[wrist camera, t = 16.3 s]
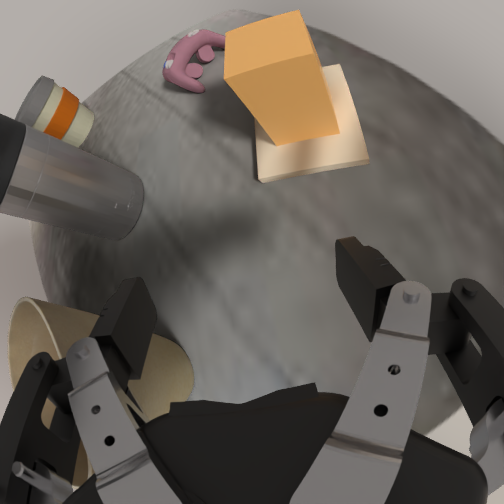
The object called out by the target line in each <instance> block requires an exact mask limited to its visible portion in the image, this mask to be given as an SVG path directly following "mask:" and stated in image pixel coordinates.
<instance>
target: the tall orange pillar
mask: <svg viewBox="0 0 504 504" xmlns="http://www.w3.org/2000/svg"><path fill="white" fill-rule="evenodd" d="M224 80H225V81H226V82H227V84H228V85H229V86H230V87H231V88H232V90H233V91H234V92H235V93H236V94H237V96H238V97H239V98H240V99H241V100H242V102H243V103H244V104H245V105H246V107H247V108H248V109H249V111H250V112H251V113H252V114H253V116H254V117H255V118H256V119H257V121H258V122H259V123H260V125H261V126H262V127H263V129H264V130H265V131H266V133H267V134H268V135H269V137H270V138H271V139H272V141H273V142H274V143H275V145H276V146H280V145H284V144H289V143H293V142H298V141H303V140H308V139H313V138H318V137H324V136H330V135H335V134H340V131H339V126H338V122H337V118H336V114H335V110H334V106H333V102H332V98H331V94H330V91H329V87H328V84H327V81H326V78H325V75H324V72H323V69H322V66H321V63H320V61H319V58H318V55H317V53H316V50H315V47H314V45H313V42H312V40H311V37H310V35H309V32H308V30H307V27H306V25H305V23H304V20H303V18H302V16H301V14H300V11H299V10H296V11H292V12H288V13H284V14H280V15H277V16H273V17H270V18H266V19H263V20H260V21H257V22H254V23H251V24H248V25H245V26H242V27H239V28H237V29H234V30H231V31H229V32H226V37H225V63H224Z"/></svg>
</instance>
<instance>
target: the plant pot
mask: <svg viewBox="0 0 504 504" xmlns="http://www.w3.org/2000/svg"><path fill="white" fill-rule="evenodd" d="M99 317H100V316H99V315H96V314H92V313H89V312H85V311H81V310H78V309H74V308H69V307H65V306H61V305H57V304H53V303H49V302H45V301H41V300H37V299H33V298H29V297H23V298H21V299H20V300H19V301H18V302H17V303H16V305H15V307H14V309H13V311H12V314H11V319H10V323H9V329H8V343H7V347H8V364H9V372H10V378H11V383H12V388H13V392H14V390H15V387H16V385H17V383H18V381H19V379H20V377H21V375H22V373H23V370H24V368H25V366H26V364H27V363H28V361H29V360H30V359H31V358H32V357H33V356H34V355H36V354H37V353H39V352H47V353H49V354H50V356H51V357H52V358H53V360H54V361H56V360H59V359H62V358H65V357H66V354H67V351H68V349H69V348H70V347H71V346H72V345H73V344H74V343H75V342H76V341H78V340H80V339H82V338H86V337H89V335H90V333H91V331H92V329H93V327H94V325H95V323H96V321H97V320H98V318H99ZM193 385H194V372H193V368H192V365H191V362H190V360H189V358H188V356H187V355H186V353H185V352H184V350H183V349H182V348H181V347H180V346H179V345H177V344H176V343H174V342H173V341H171V340H168V339H166V338H164V337H162V336H159V335H156V334H154V333H153V334H152V338H151V341H150V345H149V348H148V352H147V356H146V359H145V363H144V367H143V371H142V375H141V379H140V380H129V381H128V386H129V387H130V389H131V390H132V392H133V394H134V395H135V397H136V399H137V400H138V402H139V404H140V405H141V407H142V409H143V410H144V412H145V413H146V415H147V417H148V418H149V420H150V421H151V420H152V419H154V418H156V417H158V416H160V415H163V414H166V413H169V410H170V402H184V401H186V400H187V398H188V397H189V395H190V393H191V391H192V389H193ZM55 409H56V406H55V405H54V404H53V403H52V402H51V401H50V400H49V399H48V398H47V399H46V402H45V405H44V407H43V410H42V413H41V419H42V422H43V424H44V425H45V426H46V427H47V428H48V429H49V428H50V424H51V421H52V418H53V415H54V412H55ZM94 473H95V472H94V469H93V467H92V465H91V462H90V460H89V458H88V455H87V453H86V450H85V447H84V445H83V442H82V439H81V440H80V445H79V450H78V455H77V460H76V465H75V471H74V477H73V483H72V488H74V489H78V488H79V487H80V486H81V485H82V484H83V483H84V482H85V481H86V480H87V479H88V478H90V477H91V476H92V475H93V474H94Z"/></svg>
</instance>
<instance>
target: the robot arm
mask: <svg viewBox="0 0 504 504" xmlns="http://www.w3.org/2000/svg"><path fill="white" fill-rule="evenodd" d="M143 198H144V190H143V185H142V182H141V180H140V178H139V177H138V176H137V175H135V174H133V173H131V172H129V171H127V170H124V169H122V168H120V167H118V166H116V165H114V164H112V163H110V162H108V161H106V160H103V159H101V158H99V157H97V156H95V155H93V154H90V153H88V152H86V151H84V150H82V149H80V148H77V147H75V146H73V145H71V144H69V143H66V142H64V141H62V140H60V139H58V138H55V137H53V136H51V135H49V134H46V133H44V132H42V131H39V130H37V129H35V128H33V127H30V126H28V125H25V124H23V123H21V122H19V121H16V120H14V119H11V118H9V117H7V116H4V115H2V114H0V213H4V214H7V215H12V216H15V217H20V218H24V219H28V220H32V221H36V222H40V223H44V224H48V225H52V226H56V227H60V228H64V229H69V230H73V231H77V232H81V233H85V234H89V235H93V236H98V237H102V238H106V239H111V240H118V239H121V238H123V237H125V236H126V235H127V234H128V233H129V232H130V231H131V229H132V228H133V227H134V225H135V223H136V222H137V220H138V217H139V215H140V212H141V209H142V205H143ZM335 251H336V276H337V281H338V285H339V287H340V289H341V291H342V293H343V294H344V296H345V298H346V300H347V302H348V303H349V305H350V307H351V309H352V310H353V312H354V314H355V316H356V318H357V320H358V321H359V323H360V325H361V327H362V329H363V331H364V333H365V334H366V336H367V338H368V340H369V342H372V344H371V347H370V349H369V352H368V355H367V357H366V360H365V363H364V365H363V368H362V370H361V373H360V375H359V377H358V380H357V382H356V385H355V387H354V389H353V391H352V394H351V396H350V397H348V396H345V395H341V394H336V393H327V392H318V391H317V388H316V384H315V383H310V384H306V385H301V386H297V387H292V388H287V389H281V390H277V391H275V392H272V393H270V394H267V395H265V396H262V397H259V398H257V399H254V400H251V401H249V402H246V403H242V404H232V403H223V402H214V401H207V400H199V401H184V402H170V410H169V413H166V414H163V415H160V416H158V417H156V418H154V419H152V420H151V421H150V420H149V418H148V417H147V415H146V413H145V412H144V410H143V409H142V407H141V405H140V404H139V402H138V400H137V399H136V397H135V395H134V394H133V392H132V390H131V389H130V387H129V386H128V381H129V380H140V379H141V375H142V371H143V367H144V363H145V359H146V356H147V352H148V348H149V345H150V341H151V338H152V334H153V331H154V327H155V324H156V320H157V313H156V309H155V306H154V304H153V301H152V299H151V297H150V295H149V292H148V290H147V288H146V285H145V283H144V281H143V279H142V278H141V277H137V278H132V279H126V280H123V281H122V283H121V285H120V287H119V289H118V290H117V292H116V293H115V294H114V295H113V296H112V297H111V298H110V299H109V300H108V301H107V303H106V304H105V306H104V308H103V310H102V312H101V314H100V317H99V318H98V320H97V321H96V323H95V325H94V327H93V329H92V331H91V333H90V335H89V337H86V338H82V339H80V340H78V341H76V342H75V343H74V344H73V345H72V346H71V347H70V348H69V349H68V351H67V354H66V357H65V358H62V359H59V360H56V361H54V360H53V358H52V357H51V356H50V354H49V353H47V352H39V353H37V354H36V355H34V356H33V357H32V358H31V359H30V360H29V361H28V363H27V364H26V366H25V368H24V370H23V373H22V375H21V377H20V379H19V381H18V383H17V385H16V387H15V390H14V392H13V394H12V397H11V399H10V401H9V404H8V406H7V408H6V411H5V413H4V416H3V419H2V421H1V424H0V504H486V503H487V497H488V495H489V494H491V493H492V492H494V491H495V490H496V489H498V488H499V487H501V486H502V485H503V484H504V308H503V307H502V306H501V305H500V304H499V303H498V302H497V300H496V299H495V298H494V297H493V296H492V295H491V294H490V293H489V292H488V291H487V290H486V289H485V288H484V287H483V286H482V285H481V284H480V283H479V282H477V281H475V280H472V279H467V278H462V279H458V280H456V281H454V282H453V284H452V287H451V291H450V293H431V292H430V290H429V289H428V288H427V287H426V286H425V285H423V284H421V283H418V282H414V281H406V280H405V279H404V278H403V276H402V275H401V274H400V273H399V272H398V271H397V270H396V269H395V268H394V267H393V266H392V264H390V262H389V261H388V260H387V259H385V257H384V256H383V255H382V254H381V253H380V252H379V251H378V250H376V249H374V248H372V247H370V246H363V245H362V244H361V243H360V242H359V241H358V239H357V238H356V237H354V236H352V237H347V238H342V239H337V240H336V243H335ZM471 336H473V338H474V339H475V341H476V342H477V343H478V345H479V346H480V348H481V351H482V357H481V355H480V354H479V352H478V351H477V349H476V348H475V346H474V345H473V343H472V342H471V340H470V339H471ZM430 354H436V355H437V357H438V359H439V361H440V362H441V364H442V366H443V368H444V370H445V371H446V373H447V375H448V377H449V379H450V381H451V382H452V384H453V386H454V388H455V390H456V392H457V394H458V396H459V398H460V400H461V402H462V404H463V406H464V408H465V410H466V412H467V414H468V416H469V418H470V420H471V423H472V425H473V429H472V431H471V434H470V448H469V451H470V453H471V454H472V456H471V458H470V457H469V456H466V455H464V454H462V453H459V452H457V451H455V450H453V449H451V448H449V447H446V446H444V445H442V444H440V443H438V442H435V441H434V440H432V439H430V438H428V437H425V436H423V435H421V434H419V433H417V432H415V431H413V430H412V429H411V426H412V423H413V419H414V416H415V412H416V408H417V404H418V400H419V396H420V392H421V387H422V383H423V378H424V373H425V367H426V362H427V356H428V355H430ZM47 398H48V399H49V400H50V401H51V402H52V403H53V404H54V405H55V406H56V409H55V412H54V415H53V418H52V421H51V424H50V428H49V429H48V428H47V427H46V426H45V425H44V424H43V422H42V419H41V413H42V410H43V407H44V405H45V402H46V399H47ZM81 439H82V442H83V445H84V447H85V450H86V453H87V455H88V458H89V460H90V462H91V465H92V467H93V469H94V472H95V473H94V474H93V475H92V476H91V477H90V478H88V479H87V480H86V481H85V482H84V483H83V484H82V485H81V486H80V487H79V488H78V489H77V490H76V491H74V492H73V488H72V483H73V477H74V471H75V465H76V460H77V455H78V450H79V445H80V440H81Z"/></svg>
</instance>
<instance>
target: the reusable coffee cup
mask: <svg viewBox="0 0 504 504" xmlns="http://www.w3.org/2000/svg"><path fill="white" fill-rule="evenodd" d="M15 120H16V121H19V122H21V123H23V124H25V125H28V126H30V127H33V128H35V129H37V130H39V131H42V132H44V133H46V134H49V135H51V136H53V137H55V138H58V139H60V140H62V141H64V142H66V143H69V144H71V145H73V146H75V147H77V148H79V147H80V145H81V144H82V143H83V142H84V140H85V139H86V137H87V135H88V134H89V132H90V129H91V127H92V124H93V121H94V114H93V112H91V111H90V110H89V109H88V108H86V107H85V106H84V105H82V104H81V103H80V102H79V99H78V98H77V97H76V96H74V95H73V94H72V93H71V92H69V91H68V90H67V89H66V88H64V87H62V88H61V87H59V86H58V85H57V84H56V83H54V80H53V79H50V78H47V77H45V76H41V77H40V78H39V79H38V80H37V81H36V83H35V84H34V86H33V87H32V88H31V90H30V91H29V93H28V95H27V96H26V98H25V100H24V102H23V103H22V105H21V107H20V109H19V111H18V113H17V116H16V118H15Z"/></svg>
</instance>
